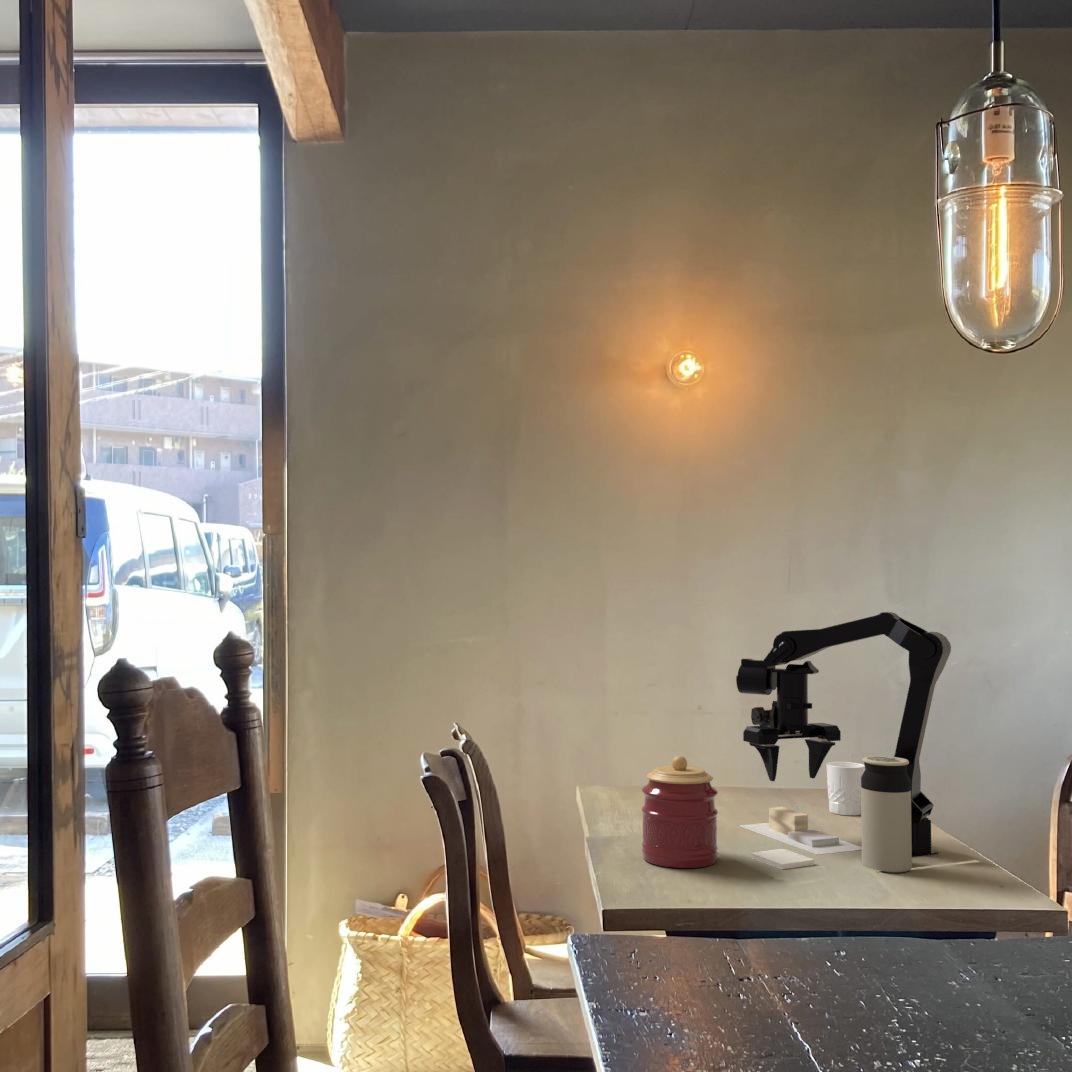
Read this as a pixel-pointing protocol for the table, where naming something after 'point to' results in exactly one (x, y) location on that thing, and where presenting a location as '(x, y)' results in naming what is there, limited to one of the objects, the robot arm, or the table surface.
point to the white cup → (844, 787)
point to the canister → (679, 817)
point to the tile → (782, 858)
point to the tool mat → (764, 830)
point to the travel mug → (886, 814)
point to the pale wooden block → (798, 827)
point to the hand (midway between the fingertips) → (792, 779)
